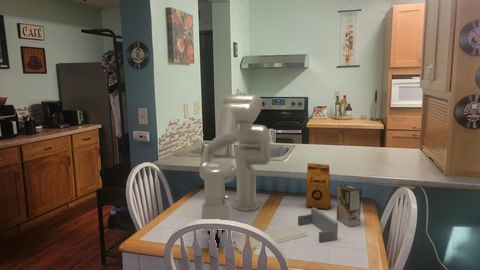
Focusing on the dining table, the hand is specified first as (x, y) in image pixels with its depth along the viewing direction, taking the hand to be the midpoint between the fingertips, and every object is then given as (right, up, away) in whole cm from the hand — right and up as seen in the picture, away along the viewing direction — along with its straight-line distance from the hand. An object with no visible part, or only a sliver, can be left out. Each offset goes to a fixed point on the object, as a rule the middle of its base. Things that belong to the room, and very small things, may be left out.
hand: (215, 246), depth 138 cm
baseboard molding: (+21, 0, +8) cm, 22 cm away
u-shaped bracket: (+41, +2, +14) cm, 43 cm away
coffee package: (+48, +6, +44) cm, 66 cm away
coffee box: (+57, +3, +24) cm, 62 cm away
